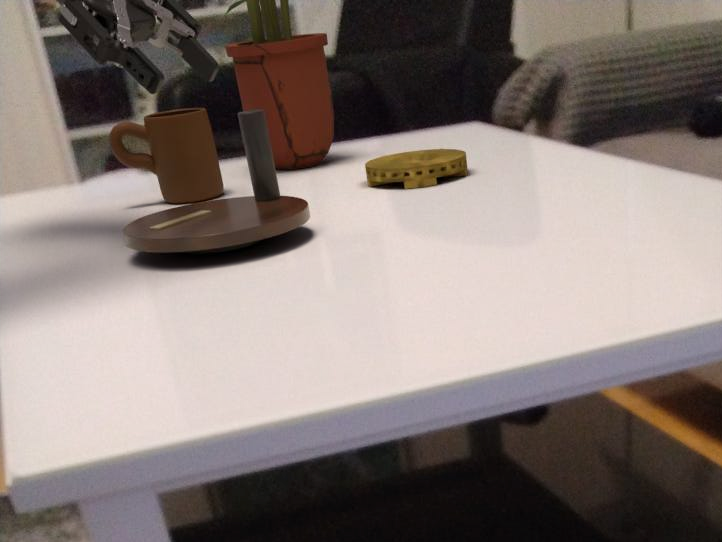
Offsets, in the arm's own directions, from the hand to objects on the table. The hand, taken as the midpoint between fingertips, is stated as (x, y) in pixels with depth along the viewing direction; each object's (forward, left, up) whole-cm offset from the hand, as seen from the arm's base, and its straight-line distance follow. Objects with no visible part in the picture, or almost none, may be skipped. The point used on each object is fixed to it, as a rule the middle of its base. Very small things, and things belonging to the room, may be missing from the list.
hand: (187, 80), depth 101 cm
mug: (-10, +19, -14) cm, 26 cm away
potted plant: (+3, +35, -14) cm, 38 cm away
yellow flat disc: (+20, +18, -14) cm, 30 cm away
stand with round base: (+3, -9, -14) cm, 17 cm away
